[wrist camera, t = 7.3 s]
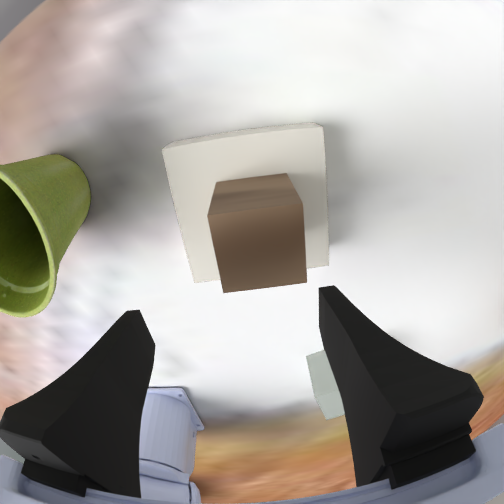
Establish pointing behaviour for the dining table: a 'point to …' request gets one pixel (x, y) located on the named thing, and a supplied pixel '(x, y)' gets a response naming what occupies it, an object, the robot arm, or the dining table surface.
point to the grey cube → (324, 385)
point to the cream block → (244, 166)
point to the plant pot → (37, 228)
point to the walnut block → (258, 233)
